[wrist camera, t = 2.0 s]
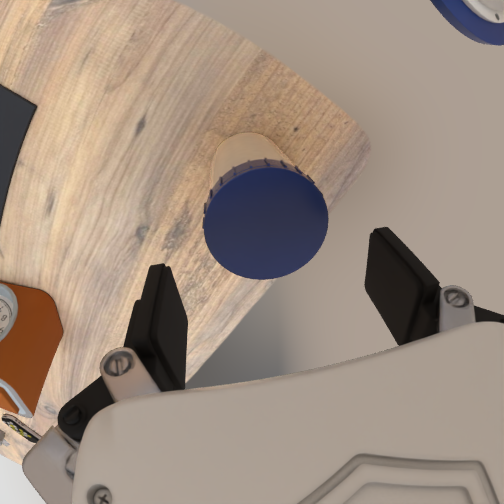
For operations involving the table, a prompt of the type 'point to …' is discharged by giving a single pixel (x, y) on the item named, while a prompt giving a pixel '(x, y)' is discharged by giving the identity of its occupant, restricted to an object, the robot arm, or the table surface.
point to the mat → (11, 135)
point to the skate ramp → (1, 440)
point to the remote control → (21, 428)
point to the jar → (242, 153)
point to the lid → (264, 219)
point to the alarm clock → (25, 346)
